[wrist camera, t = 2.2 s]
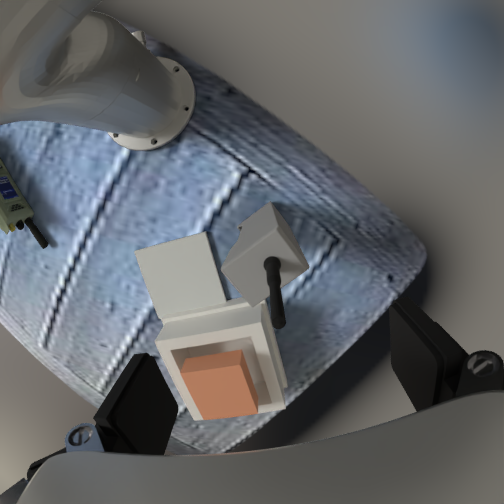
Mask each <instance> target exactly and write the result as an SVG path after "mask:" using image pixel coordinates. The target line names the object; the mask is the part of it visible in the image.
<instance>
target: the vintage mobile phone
mask: <svg viewBox="0 0 504 504" xmlns="http://www.w3.org/2000/svg"><path fill="white" fill-rule="evenodd" d="M237 228H238V229H239V230H240V235H239V238H238V241H237V242H236V243H235V244H234V246H233V247H232V248H231V250H230V252H229V254H228V255H227V257H226V259H225V261H224V263H223V265H222V267H221V271H222V273H223V274H224V275H225V276H226V277H227V279H228V280H229V281H230V282H231V283H232V285H233V286H234V287H235V288H236V289H237V291H238V292H239V293H240V294H241V295H242V296H243V298H244V299H245V300H246V301H247V302H248V304H249V305H250V306H251V307H254V306H256V305H257V304H259V303H260V302H262V301H263V300H265V299H266V298H268V297H269V296H270V305H271V320H272V326H273V327H274V328H276V329H281V328H283V327H284V326H285V325H286V320H285V314H284V307H283V301H282V294H281V288H282V287H283V286H285V285H286V284H288V283H289V282H291V281H292V280H294V279H295V278H296V277H298V276H299V275H301V274H302V273H303V272H305V271H306V270H307V269H309V265H308V263H307V261H306V258H305V256H304V254H303V252H302V250H301V248H300V246H299V244H298V242H297V240H296V238H295V236H294V235H293V233H292V231H291V229H290V227H289V225H288V224H287V222H286V221H285V220H284V218H283V217H282V216H281V214H280V213H279V212H278V210H277V209H276V208H275V206H274V205H273V204H272V202H271V201H270V202H269V203H267V204H266V205H265V206H263V207H262V208H261V209H259V210H258V211H257V212H255V213H254V214H253V215H251V216H250V217H249V218H247V219H246V220H245V221H243V222H242V223H241V224H239V225H238V227H237Z"/></svg>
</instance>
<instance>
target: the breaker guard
mask: <svg viewBox="0 0 504 504" xmlns="http://www.w3.org/2000/svg"><path fill="white" fill-rule="evenodd" d="M161 320H162V322H163V325H164V326H163V328H162V330H161V331H160V333H159V335H158V336H157V338H156V340H155V343H156V346H157V348H158V350H159V352H160V354H161V357H162V359H163V361H164V363H165V365H166V367H167V369H168V371H169V373H170V375H171V377H172V379H173V381H174V383H175V385H176V387H177V389H178V391H179V393H180V395H181V397H182V399H183V401H184V403H185V404H186V406H187V408H188V410H189V412H190V414H191V415H192V417H193V419H194V421H196V420H203V418H202V416H201V414H200V412H199V410H198V408H197V406H196V404H195V403H194V401H193V399H192V397H191V395H190V393H189V391H188V389H187V387H186V385H185V383H184V380H183V378H182V376H181V374H180V372H181V369H182V367H183V364H184V361H185V359H186V358H192V357H199V356H206V355H212V354H218V353H224V352H230V351H235V350H241V349H242V352H243V355H244V358H245V361H246V363H247V366H248V369H249V372H250V375H251V378H252V381H253V384H254V387H255V390H256V392H257V395H258V413H264V412H270V411H276V410H281V409H285V408H286V406H285V395H284V388H286V387H288V386H287V378H286V374H285V370H284V367H283V363H282V359H281V355H280V351H279V348H278V344H277V340H276V336H275V332H274V329H273V326H272V321H271V317H270V313H269V310H268V306H267V302H266V299H265V300H263V301H262V302H260V303H259V304H257V305H256V306H254V307H251V306H250V305H249V304H248V302H247V301H246V300H245V299H244V298H243V297H240V298H236V299H231V300H227V302H225V303H221V304H216V305H211V306H206V307H201V308H196V309H191V310H186V311H181V312H176V313H171V314H166V315H164V316H163V318H162V319H161Z"/></svg>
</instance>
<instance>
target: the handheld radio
mask: <svg viewBox="0 0 504 504" xmlns="http://www.w3.org/2000/svg"><path fill="white" fill-rule="evenodd" d="M33 215H34V212H33V210H32V209H31V207H30V206H29V204H28V203H27V201H26V200H25V198H24V197H23V195H22V194H21V192H20V190H19V189H18V187H17V186H16V184H15V182H14V181H13V179H12V177H11V176H10V174H9V172H8V171H7V169H6V167H5V165H4V164H3V162H2V160H1V158H0V228H1V230H3V231H4V232H5V233H6V234H8V232H9V230H10V231H11V232H13V231H14V230H15V226H16V227H17V228H18V229H19V230H22V229H23V228H24V223H25V224H26V225H27V226H28V227H29V229H30V231H31V232H32V234H33V235H34V237H35V238H36V240H37V241H38V243H39V244H40V245H41V247H42V248H43V249H44V248H46V247H47V246H48V244H49V243H48V242H47V240H46V239H45V238H44V236H43V235H42V233H41V232H40V231H39V229H38V228H37V226H36V225H34V223H33V220H32V219H31V218H32V217H33Z"/></svg>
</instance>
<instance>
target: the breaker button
mask: <svg viewBox="0 0 504 504" xmlns="http://www.w3.org/2000/svg"><path fill="white" fill-rule="evenodd" d="M180 374H181V376H182V378H183V380H184V383H185V385H186V387H187V389H188V391H189V393H190V395H191V397H192V399H193V401H194V403H195V404H196V406H197V408H198V410H199V412H200V414H201V416H202V418H203V420H210V419H220V418H229V417H237V416H245V415H252V414H258V395H257V392H256V390H255V387H254V384H253V381H252V378H251V375H250V372H249V369H248V366H247V363H246V361H245V358H244V355H243V352H242V349H241V350H235V351H230V352H224V353H218V354H212V355H206V356H199V357H192V358H186V359H185V361H184V364H183V367H182V369H181V372H180Z"/></svg>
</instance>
